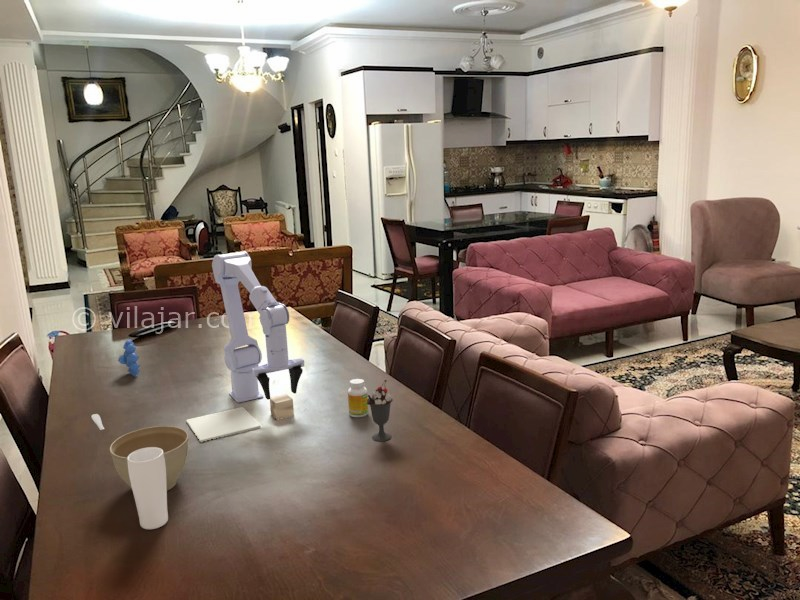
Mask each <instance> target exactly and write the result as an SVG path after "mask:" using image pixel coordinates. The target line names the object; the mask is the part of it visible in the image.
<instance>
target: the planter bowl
mask: <svg viewBox="0 0 800 600" xmlns="http://www.w3.org/2000/svg"><path fill="white" fill-rule="evenodd" d="M188 442H189V434H188V432H187V431H186V430H185V429H183V428H180V427H178V426H171V425H170V426H169V425H160V426H149V427H148V426H147V427H144V428H140V429H137V430H134V431H130V432H128V433H125V434H123V435H121V436H120V437H118V438H116V439H115V440H114V441H113V442H112V443H111V445H110V446H109V453H110V455H111V457H112V461H113V465H114V468H115V471H116V472H117V474H118V476H119V477H120V478H121V480H123V482H124V483H125V484H127V486H129V487H130V489H131V491H132V492H133V490H132V486H131V482H130V478H129V472H128V462H127V457H128V456H129V455H130V454H131V453H132V452H134V451H136V450H139V449H142V448H148V447H157V448H160V449H162V450H163V453H164V458H165V465H166V484H167V492H168V491H170V490H171V489H173V488H174V487H175V486H176V485H177V483H178V478H179V476H180V475H181V473H182V471H183V469H184V467H185V465H186V461H187V458H188V451H189V448H188V447H189V445H188Z"/></svg>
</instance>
